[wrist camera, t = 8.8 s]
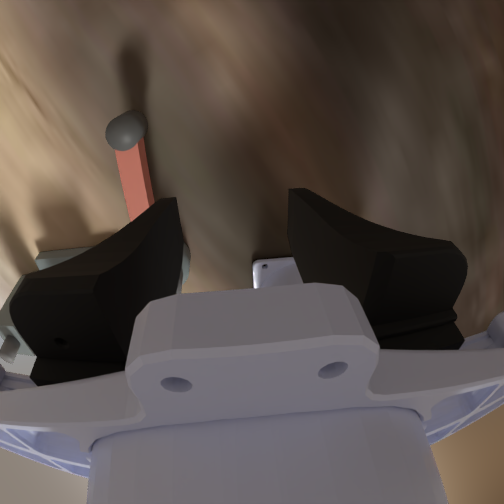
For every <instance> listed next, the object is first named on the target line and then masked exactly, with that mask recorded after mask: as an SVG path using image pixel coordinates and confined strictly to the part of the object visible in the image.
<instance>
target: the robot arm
mask: <svg viewBox="0 0 504 504" xmlns="http://www.w3.org/2000/svg"><path fill="white" fill-rule="evenodd" d="M287 234H288V239H289V243H290V248H291V252H292V255H293V257H287V258H275V259H262V260H256V261H254V262H253V288H251V289H239V290H226V291H212V292H198V293H183V294H176V292H177V287H178V282H179V277H180V272H181V267H182V262H183V246H184V240H183V235H182V229H181V224H180V218H179V212H178V206H177V199H176V197H172V198H163V199H160V200H158V201H156V202H155V203H154V204H152V205H151V206H150V207H149V208H148V209H146V210H145V211H144V212H143V213H141V214H140V215H139V216H138V217H137V218H135V219H134V220H133V221H131V222H130V223H129V224H127V225H126V226H125V227H124V228H122V229H121V230H120V231H118V232H117V233H115V234H114V235H112V236H111V237H109V238H108V239H106V240H105V241H103V242H101V243H100V244H98V245H96V246H94V247H92V248H90V249H89V250H87V251H85V252H83V253H81V254H79V255H77V256H75V257H73V258H70V259H68V260H66V261H64V262H61V263H59V264H56V265H54V266H51V267H48V268H45V269H42V270H39V271H36V272H33V273H30V274H27V275H26V276H25V277H24V279H23V280H22V282H21V284H20V285H19V287H18V289H17V290H16V292H15V294H14V295H13V297H12V299H11V301H10V303H9V313H10V316H11V319H12V322H13V324H14V326H15V327H16V329H17V331H18V332H19V334H20V335H21V336H22V338H23V339H24V340H25V342H26V343H27V345H28V346H29V347H30V349H31V350H32V351H33V352H34V354H35V355H36V356H37V358H36V361H35V363H34V367H33V369H32V372H31V375H30V376H28V375H23V374H17V373H11V372H6V371H5V370H4V368H3V367H2V365H1V364H0V447H1V448H3V449H6V450H8V451H11V452H13V453H15V454H18V455H20V456H23V457H26V458H28V459H31V460H33V461H36V462H39V463H41V464H44V465H47V466H50V467H53V468H56V469H59V470H62V471H65V472H68V473H71V474H75V475H78V476H81V477H85V478H89V481H88V492H87V504H449V503H448V500H447V496H446V493H445V490H444V486H443V483H442V480H441V477H440V474H439V471H438V468H437V465H436V462H435V459H434V456H433V453H432V450H431V447H430V445H432V444H434V443H436V442H438V441H440V440H442V439H444V438H446V437H448V436H450V435H452V434H453V433H455V432H457V431H459V430H461V429H462V428H464V427H466V426H468V425H469V424H471V423H473V422H475V421H476V420H478V419H480V418H481V417H483V416H484V415H486V414H488V413H490V412H491V411H493V410H494V409H496V408H497V407H499V406H501V405H502V404H504V311H503V312H501V313H499V314H498V315H497V316H495V318H494V319H493V320H492V322H491V323H490V325H489V327H488V329H487V331H484V332H482V333H479V334H476V335H473V336H470V337H467V338H464V337H463V336H462V334H461V333H460V331H459V329H458V328H457V326H456V325H455V323H454V321H456V319H457V314H456V313H455V311H454V310H453V306H454V304H455V302H456V300H457V298H458V296H459V294H460V291H461V289H462V287H463V285H464V282H465V279H466V276H467V269H468V265H467V260H466V258H465V256H464V255H463V254H462V252H461V251H460V250H459V249H458V248H457V247H456V246H455V245H454V244H453V243H452V242H451V241H446V240H440V239H433V238H426V237H421V236H417V235H412V234H408V233H404V232H400V231H397V230H393V229H390V228H387V227H384V226H381V225H378V224H375V223H373V222H370V221H368V220H365V219H363V218H361V217H358V216H356V215H354V214H352V213H350V212H348V211H346V210H344V209H342V208H340V207H338V206H337V205H335V204H333V203H331V202H329V201H328V200H326V199H324V198H322V197H321V196H319V195H317V194H315V193H314V192H312V191H310V190H308V189H305V188H294V189H289V199H288V230H287ZM264 264H267V265H266V266H262V265H264Z"/></svg>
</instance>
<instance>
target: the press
mask: <svg viewBox="0 0 504 504" xmlns="http://www.w3.org/2000/svg"><path fill="white" fill-rule="evenodd" d="M90 248H92V247H84V248H74V249H65V250H55V251H46V252H40V253H39V254H38V256H37V257H36V259H35V262H36V264H37V266H38V268H39V270H42V269H45V268H48V267H51V266H54V265H56V264H59V263H61V262H64V261H66V260H68V259H70V258H73V257H75V256H77V255H79V254H81V253H83V252H85V251H87V250H89V249H90ZM190 258H191V255H190V250H189V248H188V246H187V245H186V244H185V243H184V246H183V262H182V270H183V281H182V285H183V284H184V283H185V281H186V280H187V278H188V275H189V267H190ZM25 276H26V275H22V276H21V277H20V279H19V281H18V282H17V284H16V285H15V287H14V289H13V290H12V292H11V293H10V295H9V297H8V298H7V300H6V302H5V304H4V305H3V307H2V309H1V310H0V336H1V337H2V338H3V340H4V343H3V345H2V347H1V349H0V357H1V358H2V359H3V360H4V361H6V362H8V363H11V364H12V363H13V362H14V359H15V357H16V355H17V354H22V355H30V356H35V354H34V352H33V351H32V350H31V349H30V347H29V346H28V345H27V343H26V342H25V340H24V339H23V338H22V336H21V335H20V334H19V332H18V331H17V329H16V327H15V326H14V324H13V322H12V319H11V316H10V313H9V303H10V301H11V299H12V297H13V295H14V294H15V292H16V290H17V289H18V287H19V285H20V284H21V282H22V280H23V279H24V277H25Z"/></svg>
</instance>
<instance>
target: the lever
mask: <svg viewBox="0 0 504 504" xmlns="http://www.w3.org/2000/svg"><path fill="white" fill-rule="evenodd" d="M147 129H148V122H147V119H146V117H145V116H144V115H143V114H142V113H141V112H139V111H135V110H131V111H127V112H125V113H123V114H121V115H120V116H118V117H116V118H114V119H113V120H112V121H111V122H110V123H109V124H108V126H107V128H106V140H107V142H108V144H109V145H110V146H111V147H112V148H113V149H115V152H116V157H117V163H118V168H119V172H120V177H121V182H122V186H123V191H124V195H125V200H126V204H127V208H128V212H129V216H130V220H131V221H133V220H134V219H135V218H137V217H138V216H139V215H140V214H141V213H143V212H144V211H145V210H146V209H148V208H149V207H150V206H151V205H152V204H154V203H155V202H154V197H153V191H152V186H151V180H150V175H149V169H148V163H147V157H146V151H145V144H144V138H143V137H144V136H145V134H146V132H147ZM182 281H183V270H182V267H181V272H180V277H179V282H178V287H177V292H176V294H181V289H182Z"/></svg>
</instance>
